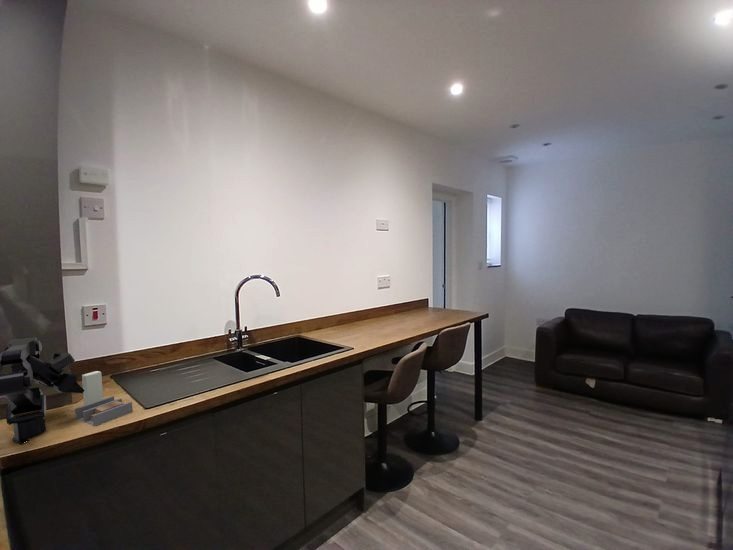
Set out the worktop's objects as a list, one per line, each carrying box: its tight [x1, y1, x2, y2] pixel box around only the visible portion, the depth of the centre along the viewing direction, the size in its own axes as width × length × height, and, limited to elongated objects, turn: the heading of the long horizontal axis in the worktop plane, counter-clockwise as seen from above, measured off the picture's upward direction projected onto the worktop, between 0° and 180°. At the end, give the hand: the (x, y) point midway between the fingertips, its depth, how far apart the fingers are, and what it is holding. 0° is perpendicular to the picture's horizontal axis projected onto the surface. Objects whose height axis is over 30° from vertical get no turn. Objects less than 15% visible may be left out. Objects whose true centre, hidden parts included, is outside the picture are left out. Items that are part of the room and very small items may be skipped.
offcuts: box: [90, 401, 125, 421], centre depth 128 cm, size 9×4×4 cm, turn 152°
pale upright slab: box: [81, 370, 104, 406], centre depth 137 cm, size 5×3×13 cm, turn 152°
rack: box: [74, 395, 134, 427], centre depth 129 cm, size 12×12×4 cm
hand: (76, 389), depth 132 cm, fingers open, 9 cm apart
